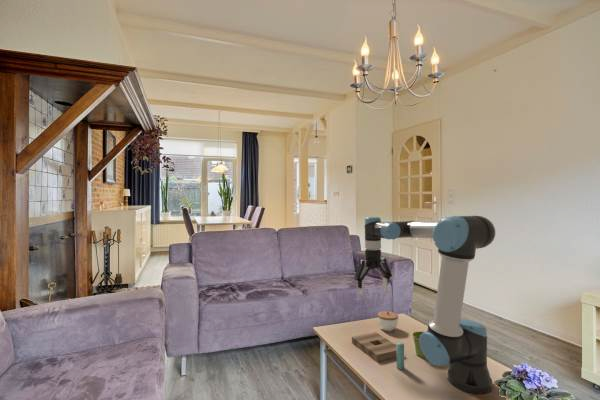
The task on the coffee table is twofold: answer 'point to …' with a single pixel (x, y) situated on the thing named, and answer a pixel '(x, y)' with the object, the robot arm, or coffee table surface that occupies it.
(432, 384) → the coffee table surface
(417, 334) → the plant pot
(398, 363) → the peg
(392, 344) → the hole block
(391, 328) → the lidded jar
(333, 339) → the coffee table surface
